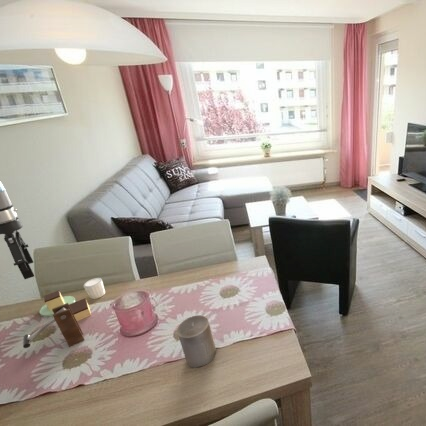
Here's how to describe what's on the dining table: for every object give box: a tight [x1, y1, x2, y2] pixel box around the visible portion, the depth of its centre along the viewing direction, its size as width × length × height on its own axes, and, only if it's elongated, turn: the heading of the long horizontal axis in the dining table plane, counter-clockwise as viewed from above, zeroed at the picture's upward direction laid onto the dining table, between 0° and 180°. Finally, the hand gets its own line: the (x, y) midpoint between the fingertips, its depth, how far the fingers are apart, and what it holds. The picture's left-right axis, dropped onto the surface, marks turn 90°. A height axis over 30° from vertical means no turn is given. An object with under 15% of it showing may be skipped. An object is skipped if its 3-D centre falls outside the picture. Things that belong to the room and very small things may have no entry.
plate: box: [39, 295, 77, 318], centre depth 127 cm, size 12×12×1 cm
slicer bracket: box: [52, 303, 85, 348], centre depth 105 cm, size 10×8×16 cm
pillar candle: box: [176, 314, 217, 368], centre depth 98 cm, size 10×10×15 cm
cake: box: [69, 298, 92, 322], centre depth 119 cm, size 8×8×5 cm
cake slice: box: [43, 290, 64, 311], centre depth 125 cm, size 5×5×5 cm
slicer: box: [22, 307, 66, 349], centre depth 100 cm, size 14×6×2 cm, turn 132°
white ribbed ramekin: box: [82, 277, 106, 300], centre depth 132 cm, size 7×7×7 cm
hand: (29, 270), depth 113 cm, fingers open, 13 cm apart
